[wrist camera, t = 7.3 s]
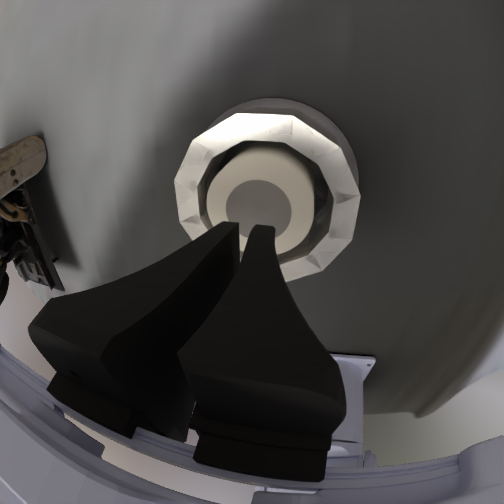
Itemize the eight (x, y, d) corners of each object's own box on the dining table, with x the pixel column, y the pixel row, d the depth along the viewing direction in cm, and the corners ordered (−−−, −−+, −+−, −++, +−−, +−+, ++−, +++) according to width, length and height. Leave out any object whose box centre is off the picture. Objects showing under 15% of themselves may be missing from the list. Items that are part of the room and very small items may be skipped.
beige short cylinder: (309, 222, 17) (307, 263, 13) (231, 214, 18) (209, 252, 14) (317, 143, 14) (319, 164, 11) (228, 137, 15) (201, 157, 11)
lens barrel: (343, 256, 18) (346, 298, 15) (203, 240, 20) (180, 275, 17) (366, 107, 13) (384, 115, 9) (191, 99, 14) (157, 106, 11)
